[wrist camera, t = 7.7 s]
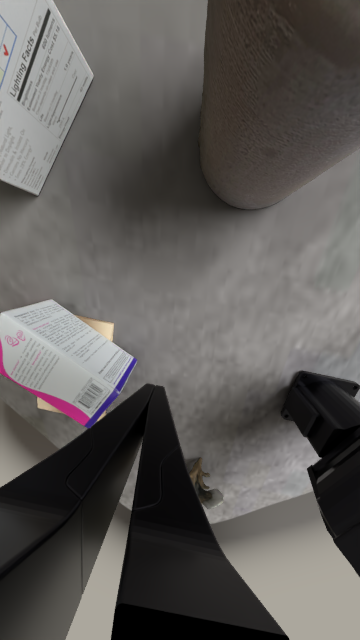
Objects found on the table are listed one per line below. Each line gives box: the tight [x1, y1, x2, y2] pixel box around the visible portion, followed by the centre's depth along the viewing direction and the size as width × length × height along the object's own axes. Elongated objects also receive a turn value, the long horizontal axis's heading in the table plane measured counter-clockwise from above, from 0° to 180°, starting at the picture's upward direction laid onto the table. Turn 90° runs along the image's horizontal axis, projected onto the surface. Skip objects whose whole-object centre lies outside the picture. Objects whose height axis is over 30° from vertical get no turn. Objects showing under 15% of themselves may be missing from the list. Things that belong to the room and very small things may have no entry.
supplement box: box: [0, 299, 137, 428], centre depth 19 cm, size 6×6×12 cm
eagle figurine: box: [189, 458, 224, 509], centre depth 24 cm, size 8×7×9 cm
